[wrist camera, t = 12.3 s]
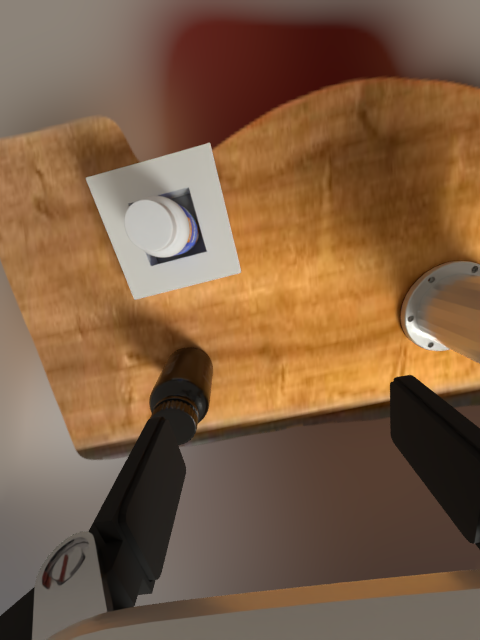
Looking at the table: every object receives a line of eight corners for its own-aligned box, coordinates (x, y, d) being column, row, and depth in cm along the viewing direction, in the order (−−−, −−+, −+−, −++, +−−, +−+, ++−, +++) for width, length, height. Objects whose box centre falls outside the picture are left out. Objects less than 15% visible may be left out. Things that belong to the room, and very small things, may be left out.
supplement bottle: (173, 390, 36) (147, 458, 25) (161, 350, 34) (126, 405, 22) (218, 383, 36) (211, 448, 25) (209, 342, 34) (197, 393, 22)
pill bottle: (207, 242, 29) (194, 244, 20) (168, 260, 29) (138, 270, 20) (186, 197, 27) (161, 176, 18) (145, 217, 28) (101, 207, 19)
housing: (212, 155, 26) (209, 142, 23) (240, 269, 31) (241, 272, 27) (103, 185, 27) (85, 177, 24) (144, 293, 31) (134, 299, 28)
